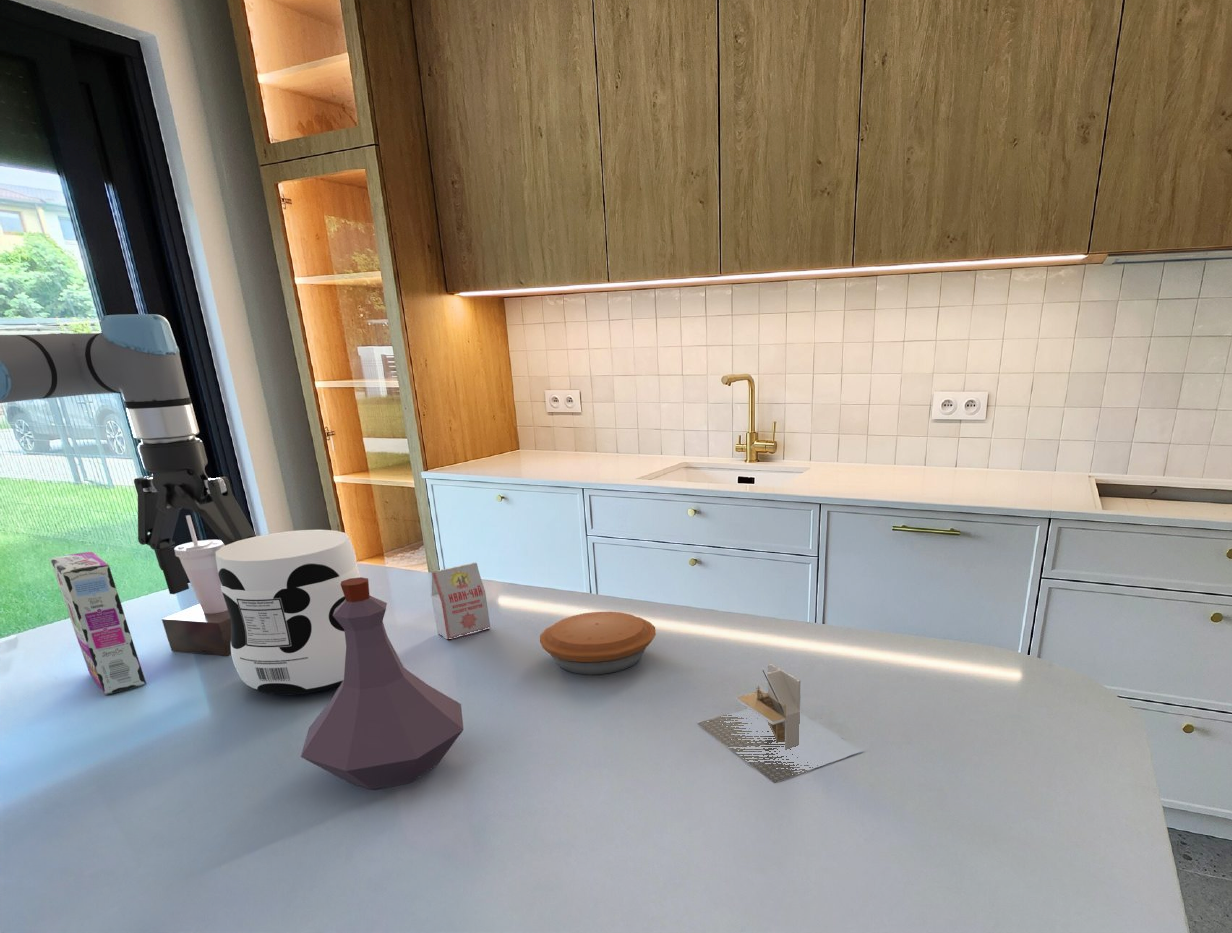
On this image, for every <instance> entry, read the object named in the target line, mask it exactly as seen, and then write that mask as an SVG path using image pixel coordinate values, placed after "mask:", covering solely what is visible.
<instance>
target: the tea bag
mask: <svg viewBox="0 0 1232 933" xmlns="http://www.w3.org/2000/svg"><path fill="white" fill-rule="evenodd" d="M478 566H479V565H478V563H477V562H471V563H467V564H462V565H458V566H453V567H448V568H443V569H439V570H434V571H431V594H430V595H431V597H430V598H431V603H432V608H433V615H434V619H435V626H436V632H437V634H438V633H439V634H440V635H442V636H443V637H445V638H447V639H449V638H454V637H457V636H459V635H465V634H467V633H470V632H474V631H478V630H483V629H485V628H488V627H490V628H491V623H490V616H489V608H488V601H487V593H486V590H485V586H484V583H483V580H482V577H481V574H480V571H479V567H478ZM440 635H439V636H440ZM443 637H442V638H443Z"/></svg>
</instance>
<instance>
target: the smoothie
mask: <svg viewBox="0 0 1232 933" xmlns="http://www.w3.org/2000/svg"><path fill="white" fill-rule="evenodd" d="M185 518H186V523H187V526H188V529H189V533H190V536H191V540H192V541H189V542H185V543H182V544H179V545H176V546H177V547H175V548H174V550H175V555H176V556H177V557H179V558H180V561H181V563H182V566H183V569H184V572H185V575H186V578H187V579H188V581H189V584H190V586H191V588H192V590H193V592H194V594H195V596H196V599H197V601H198V603H199V604H200V606H201V608H202V610H203V612H204V613H207V614H212V613H220V612H224V611H227V610H228V609H227V606H226V603H225V600H224V597H223V593H222V590H221V582H220V579H219V575H218V569H217V563H216V551H217V550H219V549H220V548H222V547H223V546H225V545H224V543H223V542H222V541H221V540H220V539H203V540H198V538H197V536H196V530H195V527H194V523H193V521H192V517H191V515H190V514H187V515H185Z"/></svg>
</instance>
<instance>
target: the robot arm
mask: <svg viewBox="0 0 1232 933" xmlns="http://www.w3.org/2000/svg"><path fill="white" fill-rule="evenodd" d="M100 326H101V332H95V333H94V332H92V333H91V332H89V333H88V332H85V333H84V332H83V333H82V332H80V333H67V332H59V333H52V332H51V333H43V334H42V333H41V334H40V333H38V334H37V333H35V334H33V333H32V334H0V404H5V403H14V402H23V401H24V402H25V401H33V400H43V399H44V400H46V399H55V398H56V399H57V398H67V397H76V396H77V397H78V396H86V395H87V396H89V395H105V394H106V395H107V394H108V395H109V394H121V396H122V399H123V404H124V407H125V410H126V413H127V417H128V420H129V424H130V427H131V431H132V435H133V438H134V439H136V440H139V441H141V442H139V443H138V445H137V450H138V454H139V457H140V459H141V463H142V466H143V469H144V470H145V471H146V472H147V473H148V472H149V473H151V475H145V476H142V477H136V478H134V479H133V484H134V487H135V490H136V494H137V541H138V543H139V544H140V545H141V546H144V545H147V546H149V547H150V549H152V550H153V552H154V554H155V557H156V560H157V564H158V568H160V569H159V570H161V571H162V573H163V577H164V580H165V582H166V586H167V589H168V592H169V595H176V594H179V593H181V592H184V591H187V590H189V589H190V586H189V582H188V580H187V579H188V578H187V575H186V572H185V570H184V568H183V565H182V563H181V561H180V558H179V557H177V556H176V555H175V550H174V548H175V547H177V546H178V545H174V544H175V543H176V542H175V541H174V540H173V536H174V533H175V529H176V525H177V522H178V518H179V516H180V512H181V510H182V509H185V510H192V512H193V513H194V514H196V515H199V516H200V517H201V518H202V519H203V521H204V522H205V523H206V525H208V526H209V528H210V529H211V530H212V531H213V533H214V534H215V535H216V536H217V538H218V540H221V541H222V542H223V543H224V545H228V544H231V543H233V542H236V541H240V540H244V539H248V538H252V537H256V536H257V535H256V533H255V531H254V530H253V527H252V525H250V523H249V521H248V519H247V517H246V515H245V514H244V512H243V510H242V508H241V506H240V504H239V503H238V501H237V500H236V497H235V496H234V494H233V492H232V488H231V484H230V480H229V479H228V477H227V476H220V477H216V478H210V477H209V476H208V474H207V473H206V470H205V467H206V466H207V465H208V458H207V457H208V456H207V454H206V450H205V446H204V443H203V440H201V439H200V438H199V437H196V435H199V434H200V429H199V425H198V422H197V419H196V415H195V414H196V413H195V411H194V407H193V403H192V399H191V396H190V393H189V389H188V385H187V381H186V376H185V373H184V372H185V371H184V368H183V364H182V360H181V359H182V358H181V355H180V348H179V346H178V345H177V342H176V339H175V336H174V333H173V330H172V328H171V324H170V322H169V321H168V319H167V318H166V317H165V316H162V315H161V314H156V313H155V314H154V313H135V314H134V313H133V314H132V313H131V314H127V313H126V314H109V315H103V316H102V317H101V318H100Z"/></svg>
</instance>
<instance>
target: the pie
mask: <svg viewBox="0 0 1232 933" xmlns="http://www.w3.org/2000/svg"><path fill="white" fill-rule="evenodd" d="M656 635H657V633H656V626H654V624H652V623H651V622H650V621H648V620H647V619H644V618H642V617H639V616H635V615H633V614H630V613H625V612H619V611H593V612H584V613H579V614H574V615H571V616H567V617H565V618H563V619H561V620H559V621H557V622H555V623H554V624H552V625H550V626H548V627H547V628H545V629H544V630H543V631H542V632H541V633H540V635H539V643H540V645H541V647H542V649H543V650H544V651H546V652H547V653H548V654H550V656H551V658H553V660H554V661H555V662H556V664H557V665H558V666H559V667H560V668H562V669H564V670H565V671H567V672H571V673H574V674H580V675H606V674H612V673H616V672H620V671H623V670H626V669H628V668H631V667H633V666H634V665H636V664H637V663H638V662H639V661H640V659H641V657H642V656H643V654H644V652H645V650H646V649H647V647H648V646H649V645H650V644H651V643H652V642H653V640H654V638H655V637H656Z"/></svg>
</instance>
